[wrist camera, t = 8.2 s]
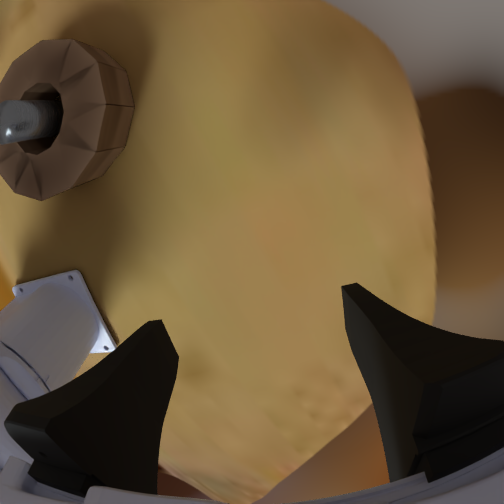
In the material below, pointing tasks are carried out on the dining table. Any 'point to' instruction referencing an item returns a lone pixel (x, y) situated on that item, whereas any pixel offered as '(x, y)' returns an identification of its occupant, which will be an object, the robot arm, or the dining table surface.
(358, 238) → the dining table surface
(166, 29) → the dining table surface
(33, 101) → the dark grey capsule
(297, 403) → the dining table surface
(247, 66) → the dining table surface
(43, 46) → the bead
